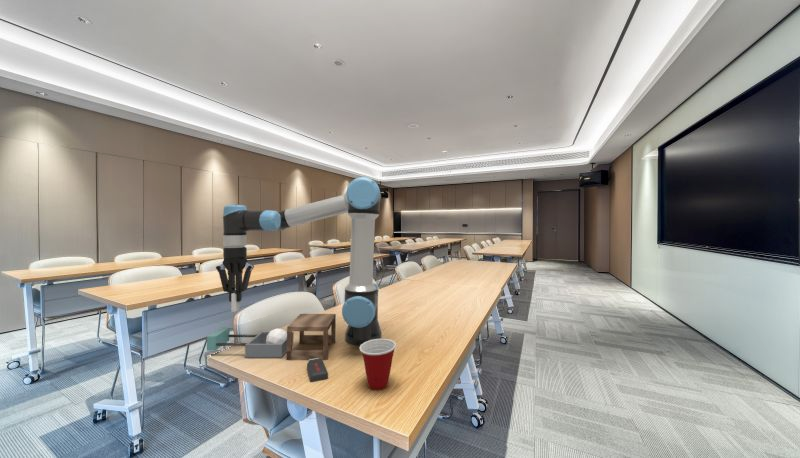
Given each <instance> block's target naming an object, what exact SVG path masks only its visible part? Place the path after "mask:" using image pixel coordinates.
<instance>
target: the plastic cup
mask: <svg viewBox="0 0 800 458" xmlns="http://www.w3.org/2000/svg"><path fill="white" fill-rule="evenodd" d="M396 347H397V343H396V342H395V341H394V340H392V339H390V338H389V339H387V338H381V339H374V340H369V341H367V342H364V343H363V344H361V345H359V351H360V353H361V354H362V357H363V363H364V364H363V365H364V369H365V375H366V380H367V385H368V388H370V389H371V390H373V389H374V391H380V390H384V389H387V387H388V384H389V380H390V375H391V370H392V363H393V358H394V353H395V349H396Z"/></svg>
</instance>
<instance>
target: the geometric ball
mask: <svg viewBox="0 0 800 458" xmlns="http://www.w3.org/2000/svg"><path fill="white" fill-rule="evenodd" d="M268 332H269V334H268V335H267V338H266V344H281V343H282V341H283V340H284V339H285V338H286V337H287V330H285V329H283V328H274V329H271V330H270V331H268Z"/></svg>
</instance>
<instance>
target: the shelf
mask: <svg viewBox="0 0 800 458" xmlns="http://www.w3.org/2000/svg"><path fill="white" fill-rule="evenodd" d="M336 315H337V314H336V313H300V314H299V315H297V316H296V318H295V319H294V320H293V321H292V322H291V323H290V324H288V326H287V327H286V332H287V351H286V361H309V359H315V358H320V359H321V360H322V361H327V360H329V359H328V358H329V356H328V355H329V344H335V343H336V325H337V323H336V322H337V321H336ZM329 330H330V334H329ZM292 332H299V334H298V335H299V336H298V337H299V338H298V339H299V344H322V349H293V344H292ZM305 332H322V333H323V334H305Z"/></svg>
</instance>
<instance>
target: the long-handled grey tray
mask: <svg viewBox="0 0 800 458" xmlns="http://www.w3.org/2000/svg"><path fill="white" fill-rule="evenodd" d="M230 332H231V331H230V327H220V328H218V329H217V330H215V331H214V332H212V333H211V334H209V335H207V336H206V352H207V351H210V352H211V351H213V352H214V351H217V350H218V349H219V348H221V347H244V350H245V351H244V357H245V358H283V356H285V354H287V337H286V338H285V339H284V340H283V341H282V343H281V344H266V338H267V335H268V334H269V332H270V331H259V333H257V334H230ZM294 332H295V331H292V345H294V338H295V337H294V334H295V333H294ZM230 338H252V339H250V340H249V341H248V342H229V341H230Z"/></svg>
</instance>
